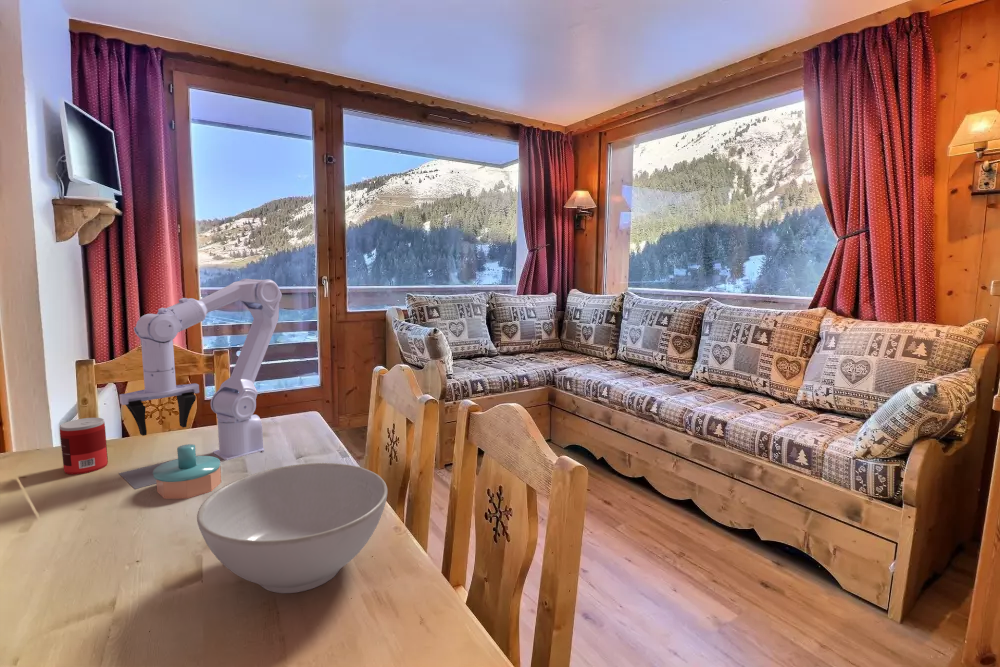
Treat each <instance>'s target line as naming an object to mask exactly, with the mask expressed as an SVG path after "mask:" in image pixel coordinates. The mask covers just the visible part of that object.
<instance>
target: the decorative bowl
mask: <svg viewBox="0 0 1000 667" xmlns="http://www.w3.org/2000/svg"><path fill="white" fill-rule="evenodd" d="M387 498H388V486H387V484H386V482H385V481H384V479H383V478H382V477H381V476H380V475H379V474H378V473H375V472H374V471H371V470H370V469H367V468H364V467H361V466H356V465H352V464H345V463H338V462H337V463H335V462H334V463H333V462H313V463H300V464H292V465H286V466H280V467H276V468H270V469H266V470H262V471H258V472H256V473H253V474H250V475H246V476H243V477H241V478H239V479H236V480H234V481H232V482H229V483H228V484H226V485H224V486H222V487H221V488H219V489H217V490H216V491H214V492H213V493H212V494H211V495H209V496H208V497H207V498H206V499H205V500H204V501H203V502H202V504H200V507H199V508H198V511H197V514H196V521H197V526H198V529H199V531H200V533H201V536H202V538H203V540H204V541H205V543H206V546H207V547H208V549H210V551H211V553H212V554H213V555H214V556H215V557H216V559H217V560H218V561H219V562H220V563H221V564H222V565H223V566H224V567H225V568H226V569H228V570H229V571H230V572H232V573H234V575H237V576H238V577H240V578H242V579H244V580H246V581H248V582H250V583H254V584H258V585H260V587H261V588H263V589H264V590H266V591H269V592H273V593H277V594H293V593H301V592H305V591H308V590H312V589H315V588H317V587H319V586H322V585H324V584H326V583H327V582H329V581H331V580H332V579H333V578H335V576H336V575H337V574H338V573H339V571H340V570H341V569H343V567H344V566H346V565H347V564H349V563H350V562H351V561H353V559H354V558H355V557H357V555H358V554H359V553H360V552H361V551H362V549H363V548H364V547H365V546H366V544H368V542H369V540H370V539H371V537H372V535H374V532H375V531H376V529H377V526H378V525H379V523H380V520H381V518H382V516H383V512H384V509H385V505H386V503H387Z"/></svg>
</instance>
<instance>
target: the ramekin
mask: <svg viewBox="0 0 1000 667" xmlns="http://www.w3.org/2000/svg"><path fill="white" fill-rule="evenodd" d="M221 467H222V466H221V465H220V467H219V469H218V470H216V471H215V472H213V473H211V474H209V475H206V476H203V477H200V478H197V479H192V480H187V481H179V482H163V481H159V480H156V482H157V484H156V493H158V494H159V495H160V496H161V497H162V498H163V499H164V500H166V499H167V500H168V499H170V500H171V499H173V500H174V499H175V500H177V499H179V500H180V499H190V498H193V497H197V496H201V495H204V494H208V493H211V492H212V491H213V490H215V489H216V488H218V487H219V485H220V484H221V483H222V470H221Z"/></svg>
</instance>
